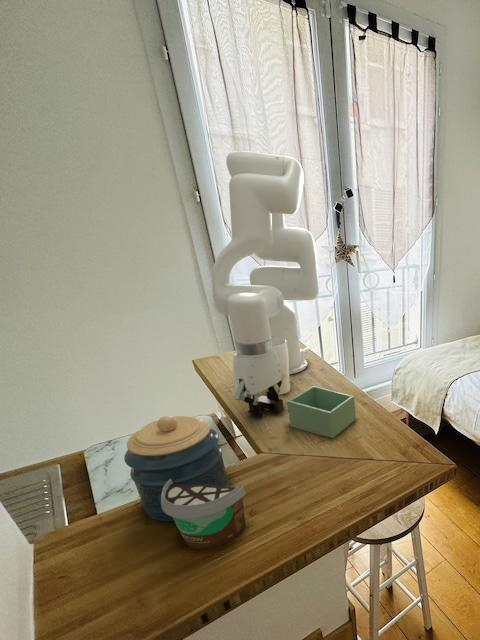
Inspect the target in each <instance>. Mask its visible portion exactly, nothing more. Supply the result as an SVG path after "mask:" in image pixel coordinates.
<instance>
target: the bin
mask: <svg viewBox="0 0 480 640" xmlns="http://www.w3.org/2000/svg"><path fill="white" fill-rule="evenodd" d="M355 403H356V402H355V396H354V395H351V394H347V393H343V392H340V391H336V390H332V389H328V388H324V387H320V386H317V385H312V386H311V387H309V388H307V389H306V390H304V391H302V392H301V393H298V394H297V395H295V396H293V397H292V398H290V399H288V400H287V401H286V405H287V411H288V418H289V425H290V427H293V428H296V429H298V430H303V431H307V432H309V433H313V434H317V435H320V436H324V437H328V438H331V439H334V438H335V437H336V436H338V435H339V434H340V433H341V432H342V431H344V430H345V429H346V428H347V427H349V426H350V425H351V424H353V422H355V421H356V419H357V418H356V416H357V415H356V404H355Z"/></svg>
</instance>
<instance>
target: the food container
mask: <svg viewBox="0 0 480 640" xmlns="http://www.w3.org/2000/svg"><path fill="white" fill-rule="evenodd" d="M245 495H247V491H246V490H245V487H244V486H243V485H242V483H239V484H238V485H237V486H235V487H230V486H229V487H220V486H215V485H209V484H194V485H187V484H174V483H173V482H172V480H171V479H169V480H168V481H167V483H166V484H165V485H164V488H163V491H162V494H161V507H162V509H163V511H164V512H165V513H166V514H168V515H169V516H172V517H173V519H174V521H173V522H174V524H175V525H176V527H177V529H178V531H179V533H180V535H181V537H182V539H183V541H184V543H186V544H187V546H188V547H191V548H193V549H198V550H205V549H212V548H215V547H219V546H222V545H225V544H226V543H228V542H230V541H232V540H233V539H234V538H236V537H238V535H240V534H241V533H242V532H243V531H244V530H245V529H246V518H245V516H246V515H245V505H244V497H245Z"/></svg>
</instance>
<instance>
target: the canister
mask: <svg viewBox="0 0 480 640" xmlns="http://www.w3.org/2000/svg"><path fill="white" fill-rule="evenodd" d="M219 438H220V437H219V433H218V432H217V431H216V430H215V429H213V428H212V427H211V425H210V423H209V422H208V421H207V420H206V419H203V418H201V417H195V416H189V415H188V416H187V415H175V416H171V415H165V416H161V417H160V418H159V419H158V420H155V421H152V422H150V423H148V424H146V425H144V426H142V427H141V428H140V429H139V430H137V431H135V432H134V433H133V434H132V435H131V436H129V438H128V440H127V441H126V448H127V449H126V452H125V454H124V456H123V457H124V458H123V459H124V460H123V461H124V463H125V464H126V465H127V467H129V468H131V469H130V472H129V474H130V478H131V480H132V481H133V482H134V485H135V487H136V491H137V493H138V496H139V498H140V499H139V500H140V505H141V507H142V510H143V511H144V512H145V513H146V514H147V516H148V517H150V519H152V520H155V521H159V522H175V521H174V519H173V517H172V516H169V515H168V514H166V513H165V512H164V511H163V509H162V507H161V494H162V491H163V488H164V485H165V484H166V483H167V481H168V480H169V479H171V480H172V482H173V483H174V484H187V485H194V484H209V485H215V486H220V487H230V478H229V473H228V472H227V470H226V466H225V463H224V458H223V449H222V448H221V446H220V445H219V444H218V443H219Z"/></svg>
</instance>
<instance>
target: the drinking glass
mask: <svg viewBox="0 0 480 640" xmlns="http://www.w3.org/2000/svg"><path fill="white" fill-rule="evenodd" d="M272 346H273V347H274V349H275V351H276V353H277V356H278V360H279V364H280V368H281V371H282V372H283V373H284V374H285V375H286V376H285V378H284V380H283V381H282V384H281V386H280V388H279V389H280V392H279V393H278V396H280V395H285V394H288V393H289V392H290V391H291V384H290V383H291V382H290V374H289V357H288V348H287V343H286V340H284V339H281V338H273V340H272Z"/></svg>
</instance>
